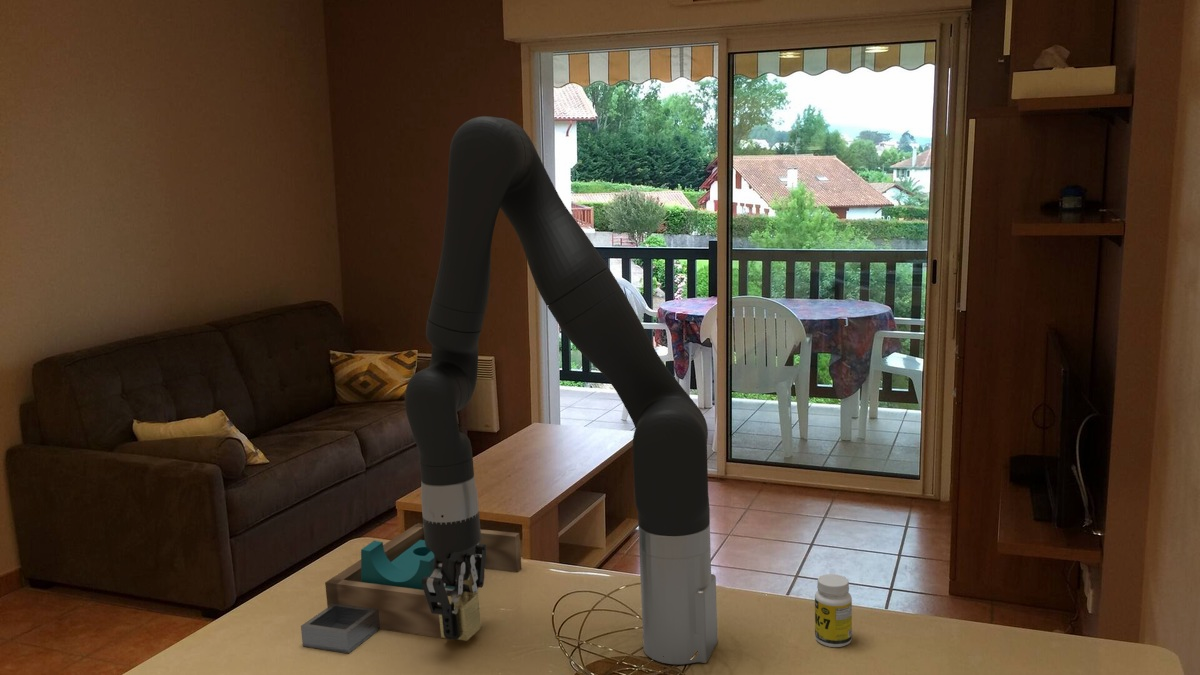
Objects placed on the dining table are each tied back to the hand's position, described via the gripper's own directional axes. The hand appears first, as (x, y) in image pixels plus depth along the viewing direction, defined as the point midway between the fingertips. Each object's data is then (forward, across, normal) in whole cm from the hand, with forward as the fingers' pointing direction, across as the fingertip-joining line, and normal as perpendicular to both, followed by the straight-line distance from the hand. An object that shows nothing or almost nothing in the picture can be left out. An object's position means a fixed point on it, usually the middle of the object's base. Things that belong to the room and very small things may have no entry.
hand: (461, 629), depth 132 cm
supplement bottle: (+2, +14, -48) cm, 50 cm away
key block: (0, 0, 0) cm, 0 cm away
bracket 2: (+1, +12, +12) cm, 18 cm away
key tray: (+1, -4, +17) cm, 17 cm away
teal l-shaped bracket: (+2, +11, +13) cm, 17 cm away
